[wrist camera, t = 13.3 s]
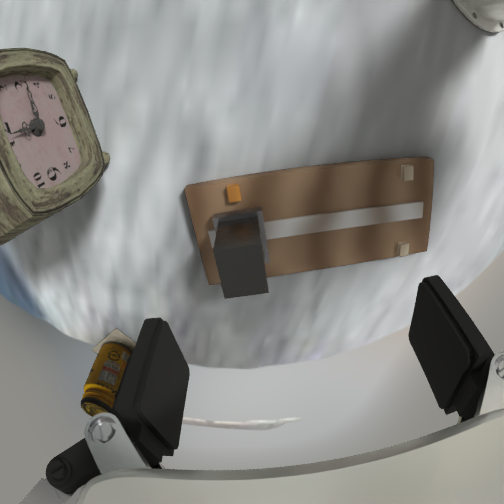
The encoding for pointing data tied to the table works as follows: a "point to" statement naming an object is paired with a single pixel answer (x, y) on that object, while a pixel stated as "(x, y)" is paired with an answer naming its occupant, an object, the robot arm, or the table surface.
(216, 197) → the fader board
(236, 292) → the fader slider
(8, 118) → the tabletop clock
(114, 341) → the condiment
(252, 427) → the table surface
